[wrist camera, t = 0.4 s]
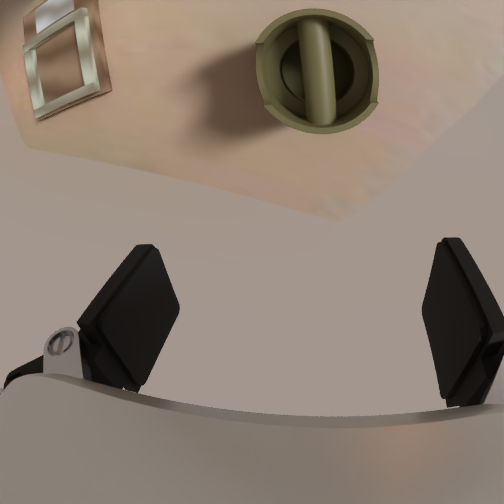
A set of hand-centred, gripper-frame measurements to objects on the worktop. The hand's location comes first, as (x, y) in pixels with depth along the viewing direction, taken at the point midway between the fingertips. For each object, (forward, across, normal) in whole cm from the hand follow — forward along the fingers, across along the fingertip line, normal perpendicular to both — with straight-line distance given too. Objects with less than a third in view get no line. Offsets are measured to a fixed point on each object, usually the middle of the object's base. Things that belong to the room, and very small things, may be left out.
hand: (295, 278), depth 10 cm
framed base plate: (+31, +34, -19) cm, 50 cm away
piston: (+31, -2, -6) cm, 31 cm away
